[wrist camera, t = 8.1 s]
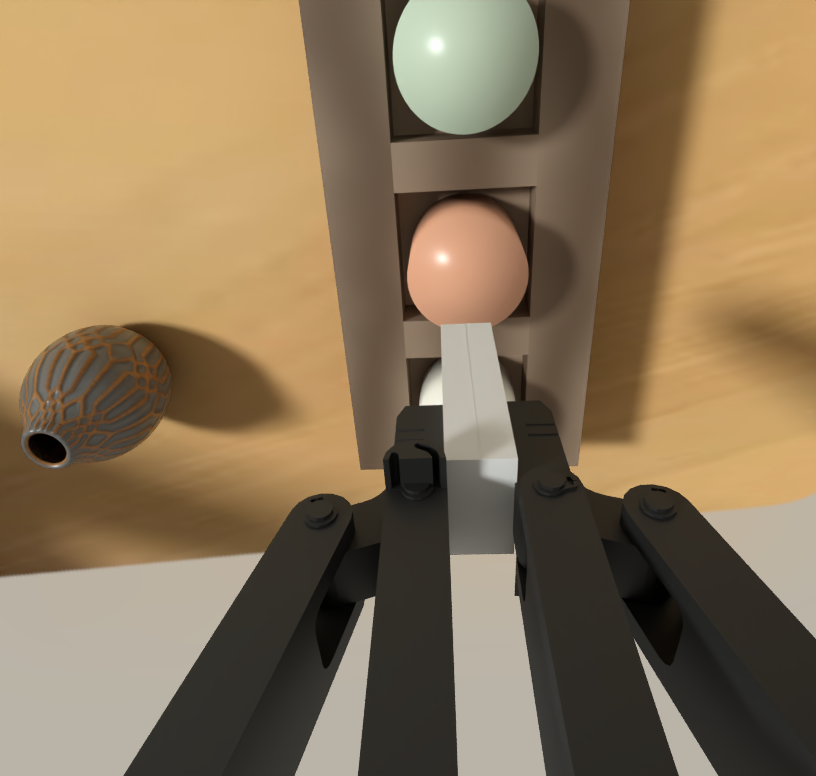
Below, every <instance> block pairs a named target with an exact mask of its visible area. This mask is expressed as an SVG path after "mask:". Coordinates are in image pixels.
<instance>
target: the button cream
mask: <svg viewBox="0 0 816 776" xmlns="http://www.w3.org/2000/svg"><path fill="white" fill-rule="evenodd" d="M499 366H500V371H501V376H502V381H503V386H504V391H505V396H506V401H515V395H514V390H513V385H512V380H511V378H510V375H509V373H508V371H507V370H506V368H505V367H504V366H503V365H502V364H501V363H500V362H499ZM421 405H443V394H442V357H441V358H440V359H438V360H436V361H435V362H434V363H433V364H432V365H431V366H430V367H429V368H428V369H427V371H426V372H425V374H424V376H423V378H422V381H421V386H420V399H419V406H421Z"/></svg>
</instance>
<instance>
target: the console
mask: <svg viewBox="0 0 816 776" xmlns="http://www.w3.org/2000/svg"><path fill="white" fill-rule="evenodd" d="M409 1H410V0H299V6H300V13H301V21H302V29H303V36H304V44H305V51H306V59H307V66H308V74H309V82H310V89H311V97H312V104H313V112H314V119H315V127H316V135H317V142H318V150H319V157H320V165H321V172H322V180H323V188H324V195H325V203H326V210H327V218H328V225H329V233H330V241H331V248H332V256H333V263H334V271H335V278H336V286H337V294H338V301H339V309H340V316H341V324H342V331H343V339H344V346H345V354H346V362H347V369H348V377H349V384H350V392H351V399H352V407H353V415H354V422H355V430H356V437H357V445H358V452H359V460H360V468H361V470H365V469H384V466H383V458H384V455H385V453H386V451H388V450H389V449H390V448H391V447H392V446H394V442H395V432H396V420H397V416H398V415H399V414H400V412H401V411H402V410H403V409H404V407H405V406H419V399H420V386H421V381H422V378H423V376H424V374H425V372H426V371H427V369H428V368H429V367H430V366H431V365H432V364H433V363H434V362H435V361H436V360H438V359H440V358H441V327H440V326H438V325H436V324H434V323H432V322H431V321H430V320H428V319H427V318H426V317H425V316H424V315H423V314H422V313H421V312H420V311H419V310H418V308H417V307H416V305H415V304H414V302H413V300H412V298H411V295H410V292H409V288H408V282H407V271H408V264H409V257H410V250H411V243H412V236H413V233H414V229H415V227H416V225H417V223H418V221H419V219H420V217H421V216H422V215H423V214H424V212H425V211H426V210H427V209H428V208H429V207H430V206H432V205H433V204H434V203H436V202H437V201H439V200H441V199H442V198H445V197H447V196H450V195H454V194H460V193H473V194H479V195H482V196H486V197H488V198H490V199H492V200H494V201H495V202H497V203H498V204H499V205H500V206H502V207H503V208H504V209H505V210H506V212H507V213H508V214H509V216H510V217H511V219H512V221H513V223H514V225H515V228H516V230H517V233H518V236H519V238H520V241H521V244H522V246H523V249H524V252H525V255H526V258H527V262H528V272H529V276H528V283H527V287H526V291H525V293H524V296H523V298H522V300H521V302H520V303H519V305H518V306H517V307H516V309H515V310H514V311H513V312H512V313H511V314H510V315H509V316H508V317H507V318H506V319H504V320H503V321H501V322H500V323H498V324H497V325H494V326H492V332H493V337H494V341H495V346H496V351H497V356H498V361H499V362H500V363H501V364H502V365H503V366H504V367H505V368H506V370H507V371H508V373H509V375H510V378H511V380H512V385H513V390H514V395H515V401H534V400H540V401H541V402H542V403H543V404H545V405H546V406H547V407H548V408H549V409H550V410H551V411H552V414H553V417H554V420H555V426H556V427H557V430H558V433H559V436H560V439H561V443H562V446H563V449H564V452H565V455H566V459H567V462H568V465H569V466H578V461H579V452H580V443H581V434H582V426H583V417H584V408H585V399H586V390H587V381H588V372H589V363H590V354H591V345H592V336H593V327H594V318H595V309H596V300H597V291H598V282H599V273H600V264H601V255H602V247H603V238H604V229H605V220H606V211H607V202H608V193H609V184H610V175H611V166H612V157H613V148H614V139H615V130H616V121H617V112H618V103H619V94H620V85H621V77H622V68H623V59H624V50H625V41H626V32H627V23H628V14H629V5H630V0H526V1H527V2H528V4H529V6H530V8H531V10H532V13H533V15H534V18H535V21H536V25H537V30H538V37H539V56H538V64H537V68H536V73H535V76H534V79H533V81H532V84H531V86H530V88H529V90H528V92H527V94H526V96H525V97H524V99H523V101H522V102H521V103H520V105H519V106H518V107H517V108H516V110H515V111H514V112H513V113H511V114H510V115H509V116H508V117H507V118H506V119H505V120H503V121H502V122H501V123H499V124H497V125H496V126H494V127H492V128H490V129H487V130H485V131H482V132H478V133H474V134H466V135H461V134H451V133H446V132H443V131H440V130H438V129H435V128H433V127H431V126H430V125H428V124H427V123H425V122H424V121H422V120H421V119H420V118H419V117H418V116H417V115H416V114H415V113H414V112H413V111H412V110H411V109H410V107H409V106H408V104H407V103H406V101H405V100H404V98H403V96H402V94H401V92H400V90H399V87H398V84H397V81H396V77H395V73H394V66H393V43H394V37H395V32H396V28H397V25H398V22H399V19H400V17H401V15H402V13H403V11H404V9H405V7H406V5H407V4H408V2H409Z"/></svg>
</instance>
